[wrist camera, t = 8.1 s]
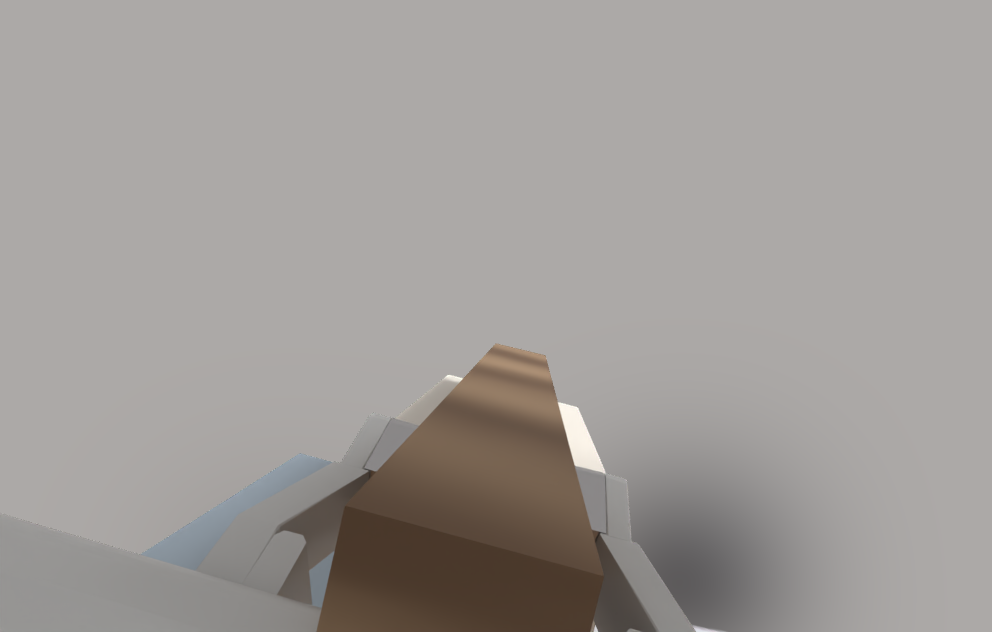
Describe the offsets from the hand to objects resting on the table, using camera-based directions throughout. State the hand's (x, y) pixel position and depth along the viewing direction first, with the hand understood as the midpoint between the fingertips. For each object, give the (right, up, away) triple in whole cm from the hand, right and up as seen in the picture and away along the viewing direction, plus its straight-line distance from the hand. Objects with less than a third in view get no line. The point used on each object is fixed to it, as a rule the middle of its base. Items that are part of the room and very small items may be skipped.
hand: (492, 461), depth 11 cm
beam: (0, -2, +6) cm, 7 cm away
